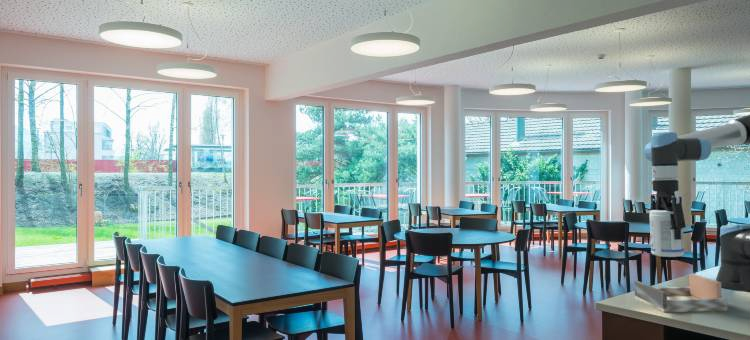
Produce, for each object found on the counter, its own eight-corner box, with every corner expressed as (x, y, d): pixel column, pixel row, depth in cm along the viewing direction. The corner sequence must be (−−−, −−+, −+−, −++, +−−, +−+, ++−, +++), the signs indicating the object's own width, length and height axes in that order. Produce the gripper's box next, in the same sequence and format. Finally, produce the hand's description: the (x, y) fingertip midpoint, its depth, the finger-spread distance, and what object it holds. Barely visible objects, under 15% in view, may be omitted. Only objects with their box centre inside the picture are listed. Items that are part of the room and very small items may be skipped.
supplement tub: (689, 255, 168) (688, 210, 168) (674, 258, 163) (673, 212, 163) (659, 251, 176) (658, 208, 176) (644, 254, 171) (643, 210, 171)
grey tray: (692, 296, 179) (691, 279, 179) (727, 310, 161) (726, 291, 161) (634, 298, 178) (634, 281, 178) (663, 312, 161) (663, 293, 161)
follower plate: (694, 294, 177) (693, 273, 177) (721, 304, 163) (721, 282, 163) (689, 294, 177) (689, 273, 177) (717, 304, 163) (716, 282, 163)
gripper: (636, 179, 181) (638, 242, 181) (673, 180, 159) (675, 252, 159) (657, 178, 181) (659, 242, 181) (697, 179, 159) (699, 252, 159)
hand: (667, 247), depth 170 cm, fingers closed on supplement tub, 9 cm apart
